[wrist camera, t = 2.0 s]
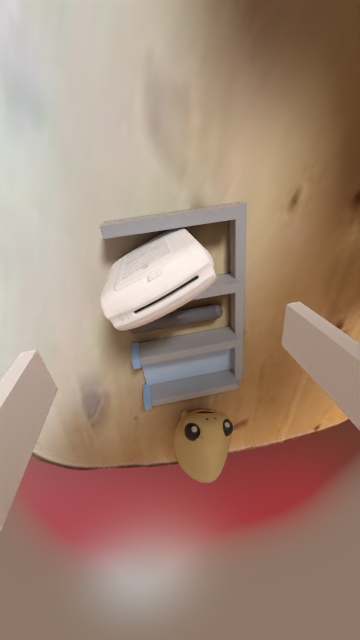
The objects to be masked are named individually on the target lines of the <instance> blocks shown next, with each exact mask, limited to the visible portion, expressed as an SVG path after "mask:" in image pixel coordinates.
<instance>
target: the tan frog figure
mask: <svg viewBox="0 0 360 640" xmlns="http://www.w3.org/2000/svg"><path fill="white" fill-rule="evenodd" d="M232 431H233V426H232V423H231V421H230V419H229V418H228V417H227V416H226V415H224V414H222V413H219V412H216V411H215V410H206V409H197V410H194V411H191V412H189V413H188V412H187V411H183V412H182V413H181V420H180V421H179V423H178V425H177V427H176V429H175V432H174V436H173V449H174V453H175V456H176V459H177V461H178V463H179V465H180V466H181V468H182V469H183V470H184V471H185V472H186V473H187V474H188V475H189V476H190V477H191V478H193V479H195V480H196V481H199V482H204V483H209V482H212V481H214V480H215V479H216V478H217V477H218V476H219V474H220V473H221V471H222V468H223V466H224V464H225V461H226V457H227V454H228V450H229V446H230V441H231V433H232Z"/></svg>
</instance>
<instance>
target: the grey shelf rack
mask: <svg viewBox="0 0 360 640" xmlns="http://www.w3.org/2000/svg"><path fill="white" fill-rule="evenodd" d="M246 206H247V203H243V202H236V203H230V204H223V205H216V206H209V207H202V208H195V209H188V210H181V211H175V212H168V213H161V214H154V215H147V216H140V217H133V218H126V219H119V220H113V221H106V222H104V223H103V224H102V225H101V226H100V228H101V232H102V236H103V239H108V238H114V237H121V236H128V235H134V234H141V233H148V232H154V231H161V230H167V229H174V228H181V227H187V226H194V225H201V224H207V223H214V222H221V221H227V220H230V273H228V274H222V275H216V278H217V279H216V281H215V282H214V283H213V284H212V285H211V286H210V287H209V288H208V289H206V290H205V291H204V292H202V293H201V294H200V295H198V296H197V297H195V298H194V299H192V300H196V299H202V298H207V297H213V296H219V295H225V294H230V312H231V326H229V327H224V328H219V329H213V330H208V331H202V332H197V333H191V334H186V335H181V336H175V337H170V338H164V339H159V340H153V341H148V342H143V343H139V342H136V343H132V350H131V362H132V365H133V369H139V368H141V365H142V369H143V372H144V376H145V380H146V384H144V385H143V404H144V407H145V410H151V409H152V407H153V406H158V405H163V404H168V403H173V402H177V401H182V400H187V399H192V398H197V397H202V396H207V395H212V394H217V393H221V392H226V391H231V390H236V389H239V383H238V381H243V339H244V295H245V250H246ZM222 313H223V310H222V308H221V306H219V305H217V304H213V305H207V306H201V307H196V308H190V309H184V310H179V311H173V312H170V313H168V314H166V315H164V316H162V317H160V318H158V319H156V320H154V321H152V322H150V323H147V324H145V325H142V326H139V327H137V328H133V329H129V330H128V331H129V332H131V333H134V334H135V333H141V332H146V331H152V330H157V329H163V328H168V327H174V326H179V325H185V324H190V323H196V322H201V321H207V320H213V319H217V318H219V317H221V315H222Z"/></svg>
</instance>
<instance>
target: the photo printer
mask: <svg viewBox="0 0 360 640" xmlns="http://www.w3.org/2000/svg"><path fill="white" fill-rule="evenodd" d="M216 279H217V278H216V274H215V272H214V262H213V259H212V257H211V255H210V254H209V252H208V251H207V250H206V249H205V248H204V247H203V246H202V245H201V244H200V243H199V242H198V241H197V240H196V239H195V238H194V237H193V236H192V235H191V234H190V233H189V232H188V231H187V230H186V229H185V228H184V227H181V228H174V229H170V230H168V231H166V232H164V233H162V234H160V235H159V236H157V237H155V238H153V239H151V240H150V241H148V242H146V243H144V244H143V245H141V246H139V247H138V248H136V249H134V250H133V251H131V252H129V253H128V254H126V255H125V256H123V257H122V258H120V259H119V260H118V261H116V262H115V263H114V264H113V265H112V267H111V270H110V273H109V275H108V278H107V281H106V284H105V286H104V289H103V292H102V294H101V298H100V301H101V307H102V309H103V312H104V314H105V316H106V318H107V319H108V320H110V321H111V323H112V324H113V325H114V327H115V328H116V329H118V330H120V331H123V330H129V329H133V328H137V327H139V326H142V325H145V324H147V323H150V322H152V321H154V320H156V319H158V318H160V317H162V316H164V315H166V314H168V313H170V312H172V311H174V310H176V309H177V308H179V307H181V306H183V305H184V304H186V303H188V302H189V301H191V300H192V299H194V298H195V297H197V296H198V295H200V294H201V293H202V292H204V291H205V290H206V289H208V288H209V287H210V286H211V285H212V284H213V283H214V282H215V281H216Z"/></svg>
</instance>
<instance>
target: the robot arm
mask: <svg viewBox="0 0 360 640" xmlns="http://www.w3.org/2000/svg"><path fill="white" fill-rule="evenodd" d="M281 345H282V346H283V347H284V348H285V349H286V351H287V352H288V353H289V354H290V355H291V356H292V357H293V358H294V359H295V360H296V361H297V363H298V364H299V365H300V366H301V367H302V368H303V369H304V370H305V371H306V372H307V373H308V375H309V376H310V377H311V378H312V379H313V380H314V381H315V382H316V383H317V384H318V385H319V387H320V388H321V389H322V390H323V391H324V392H325V393H326V394H327V395H328V396H329V397H330V399H331V400H332V401H333V402H334V403H335V404H336V405H337V406H338V407H339V408H340V409H341V411H342V412H343V413H344V414H345V415H346V416H347V417H348V418H349V419H350V420H351V421H352V423H353V424H354V425H355V426H356V427H357V428H358V429H359V430H360V343H359V342H357V341H356V340H354V339H353V338H351V337H350V336H349V335H347V334H346V333H344V332H343V331H341V330H340V329H338V328H337V327H336V326H334V325H333V324H331V323H330V322H328V321H327V320H326V319H324V318H323V317H321V316H320V315H318V314H317V313H316V312H314V311H313V310H311V309H310V308H308V307H307V306H305V305H304V304H303V303H301V302H300V301H299V302H294V303H288V304H286V310H285V318H284V327H283V335H282V344H281ZM57 390H58V388H57V386H56V385H55V383H54V381H53V379H52V377H51V375H50V373H49V371H48V369H47V368H46V366H45V364H44V362H43V360H42V358H41V356H40V354H39V352H38V351H37V350H32V351H26V352H21V353H20V355H19V356H18V358H17V359H16V360H15V362H14V363H13V365H12V366H11V367H10V369H9V370H8V372H7V373H6V374H5V376H4V377H3V379H2V380H1V381H0V532H1V529H2V527H3V524H4V521H5V519H6V516H7V514H8V512H9V509H10V507H11V504H12V502H13V499H14V497H15V494H16V492H17V489H18V487H19V484H20V482H21V479H22V477H23V474H24V472H25V469H26V467H27V464H28V462H29V459H30V457H31V454H32V452H33V449H34V447H35V444H36V442H37V440H38V437H39V435H40V432H41V430H42V427H43V425H44V422H45V420H46V417H47V415H48V412H49V410H50V407H51V405H52V402H53V400H54V397H55V395H56V392H57Z"/></svg>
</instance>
